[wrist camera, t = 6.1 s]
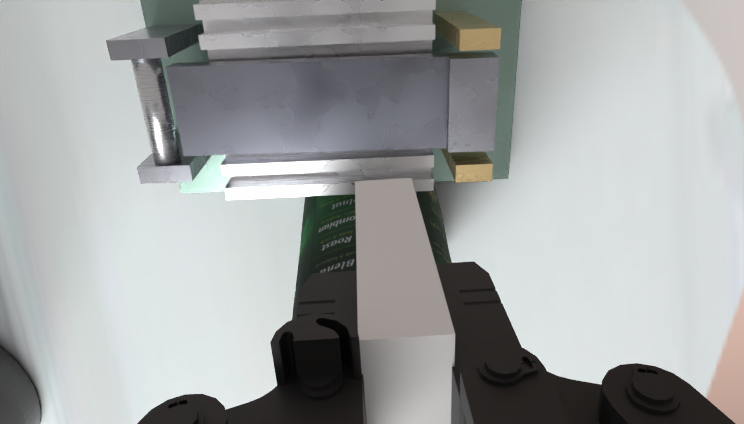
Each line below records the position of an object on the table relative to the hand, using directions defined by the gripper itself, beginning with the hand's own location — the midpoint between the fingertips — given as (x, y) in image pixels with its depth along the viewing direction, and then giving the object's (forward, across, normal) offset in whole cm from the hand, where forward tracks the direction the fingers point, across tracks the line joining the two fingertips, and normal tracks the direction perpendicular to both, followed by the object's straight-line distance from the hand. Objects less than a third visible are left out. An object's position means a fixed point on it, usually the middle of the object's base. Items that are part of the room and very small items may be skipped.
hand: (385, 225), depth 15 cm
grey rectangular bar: (+11, -2, +1) cm, 11 cm away
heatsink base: (+17, -2, +1) cm, 17 cm away
